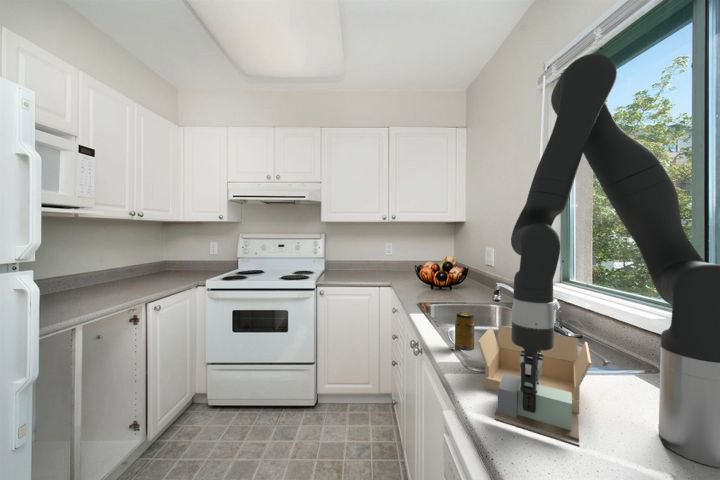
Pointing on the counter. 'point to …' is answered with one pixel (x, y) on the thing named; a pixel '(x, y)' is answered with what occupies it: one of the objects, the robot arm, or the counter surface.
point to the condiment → (464, 332)
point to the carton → (557, 367)
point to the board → (545, 427)
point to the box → (549, 402)
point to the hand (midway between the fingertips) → (530, 403)
